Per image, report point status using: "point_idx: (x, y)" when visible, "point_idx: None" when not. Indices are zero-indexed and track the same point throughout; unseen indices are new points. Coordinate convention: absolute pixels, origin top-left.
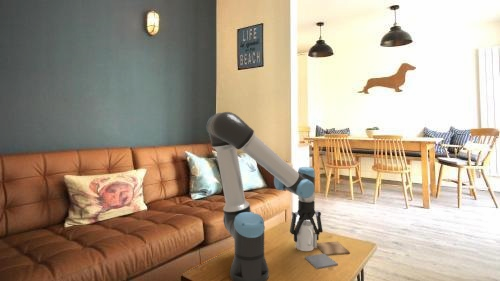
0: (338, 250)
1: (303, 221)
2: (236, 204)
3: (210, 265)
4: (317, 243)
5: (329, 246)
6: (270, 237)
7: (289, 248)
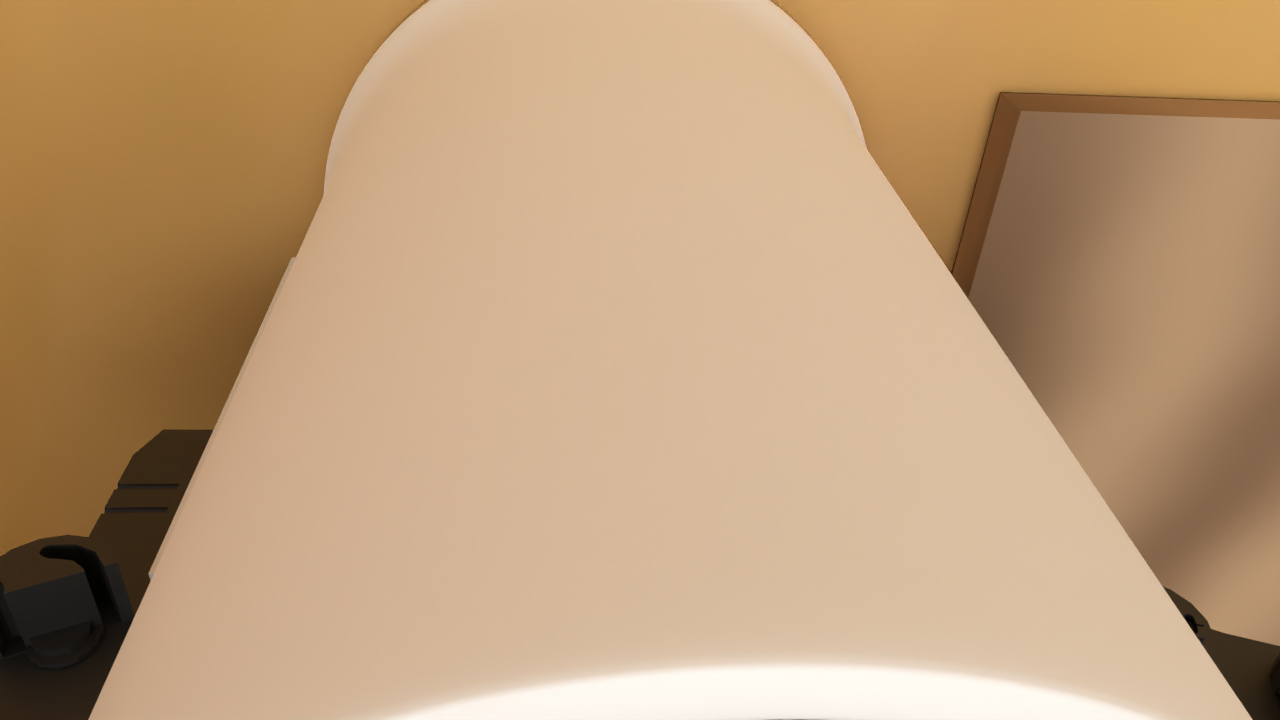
0: (1248, 571)
1: (844, 626)
2: None
3: None
4: (1071, 159)
5: (1232, 386)
6: None
7: (106, 201)
